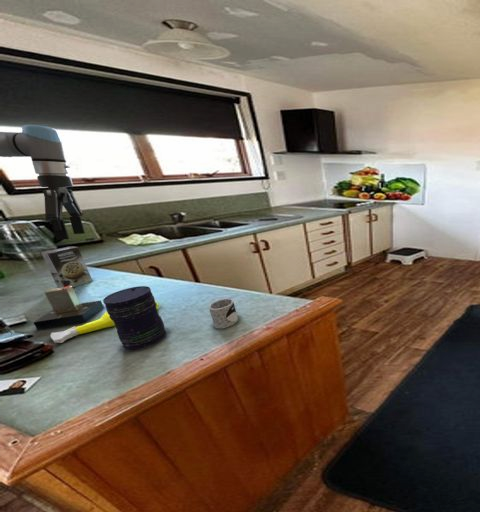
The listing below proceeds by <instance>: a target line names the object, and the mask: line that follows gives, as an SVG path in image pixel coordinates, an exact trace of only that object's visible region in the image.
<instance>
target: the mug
mask: <svg viewBox="0 0 480 512" xmlns="http://www.w3.org/2000/svg"><path fill="white" fill-rule="evenodd" d="M234 302H235V301H234V299H232V297H228V298H222V299H218V300H215V301H214V302H212V303H210V304H209V306H208V311H209V313H210V316H211V320H212V323H213V327H214V328H215V329H226V328H229V327H232V326H233V325H235V324H236V323H237V322H238V321H239V317H238V314H237V310H236V306H235V303H234Z"/></svg>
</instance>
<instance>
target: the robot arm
mask: <svg viewBox="0 0 480 512" xmlns="http://www.w3.org/2000/svg"><path fill="white" fill-rule="evenodd" d="M21 129H22V130H21V132H17V131H16V132H15V131H14V132H13V131H0V157H1V158H21V157H22V158H24V157H25V158H27V157H28V158H30V159H31V162H32V166H33V169H34V173H35V174H36V175H37V177H36V178H37V182H38V185H39V187H41V188H48V189H42V193H43V198H44V214H45V215H44V216H45V221H46V222H50V224H51V226H52V229H53V233H54V236H55V239H56V241H60V240H61V241H63V240H69V239H70V236H69V233H68V230H67V227H66V224H65V221H64V219H62V218H63V216H62V215H63V210H64V209H65V210H66V212H67V213H68V214H69V217H68V218H69V222H70V225H71V228H72V232H73V234H74V235H82V234H86V231H85V229H84V225H83V221H82V217H83V216H84V213H83V212H82V209H81V207H80V206H79V203H78V202H77V199H76V197H75V195H74V192H73V190H72V189H68V188H73V187H74V184H73V180H72V177H71V176H70V168H71V166H70V165H68V163H67V159H66V157H65V153H64V148H63V143H62V140H61V138H60V137H61V136H60V135H59V132H58V130H56V129H55V128H53V127H50V126H45V125H37V124H24V125H22V126H21ZM63 208H64V209H63Z"/></svg>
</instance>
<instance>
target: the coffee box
mask: <svg viewBox="0 0 480 512" xmlns="http://www.w3.org/2000/svg"><path fill="white" fill-rule="evenodd" d="M40 254H41V256H42V258H43V260H44V262H45V264H46V265H47V268H48V270H49V272H50V274H51V277H52V278H53V279H52V280H53V281H54V283H55V285H56V288H62V287H66V286H72V288H76V287H78V286H81V285H85V284H88V283H91V282H93V281H94V280H93V277H92V276H91V273H90V271H89V269H88V267H87V265H86V262H85V258H84V257H83V255H82V253H81V250H80V248H79V247H78V246H66V247H61V248H56V249H52V250H47V251H43V252H41V253H40Z"/></svg>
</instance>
